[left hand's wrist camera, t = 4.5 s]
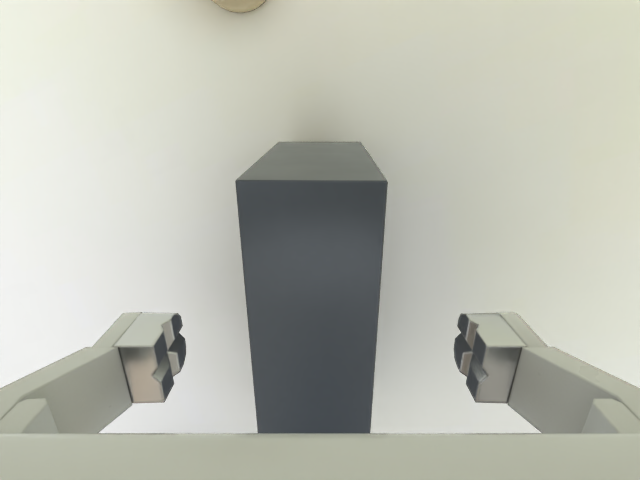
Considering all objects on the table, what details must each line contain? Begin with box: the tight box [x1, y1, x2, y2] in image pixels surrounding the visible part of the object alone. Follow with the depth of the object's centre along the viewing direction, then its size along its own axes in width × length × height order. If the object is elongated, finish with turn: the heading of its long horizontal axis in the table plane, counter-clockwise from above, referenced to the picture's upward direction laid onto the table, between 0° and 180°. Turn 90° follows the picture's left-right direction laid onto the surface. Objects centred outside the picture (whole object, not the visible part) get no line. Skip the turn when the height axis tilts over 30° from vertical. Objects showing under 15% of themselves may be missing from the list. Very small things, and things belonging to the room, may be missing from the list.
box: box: [236, 142, 388, 433], centre depth 24 cm, size 28×6×12 cm, turn 0°
